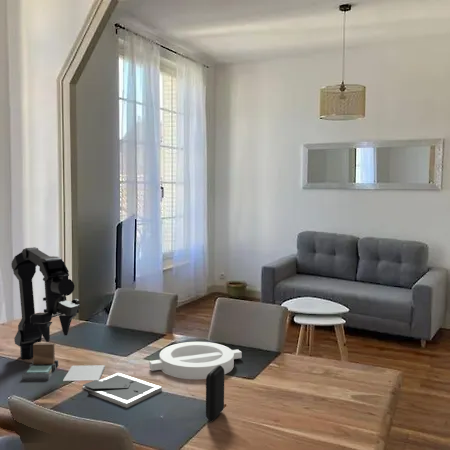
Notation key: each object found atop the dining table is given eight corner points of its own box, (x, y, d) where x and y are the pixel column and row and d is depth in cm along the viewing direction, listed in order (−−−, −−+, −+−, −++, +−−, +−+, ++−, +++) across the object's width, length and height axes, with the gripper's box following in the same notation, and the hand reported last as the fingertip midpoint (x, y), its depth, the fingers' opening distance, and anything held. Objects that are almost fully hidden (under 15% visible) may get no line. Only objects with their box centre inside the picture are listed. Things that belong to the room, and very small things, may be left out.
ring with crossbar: (145, 372, 187) (145, 360, 187) (180, 349, 213) (180, 338, 213) (216, 385, 177) (216, 372, 176) (244, 359, 203) (244, 347, 202)
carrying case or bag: (217, 407, 159) (218, 361, 158) (226, 409, 158) (227, 362, 156) (204, 422, 149) (204, 373, 148) (213, 424, 148) (214, 375, 147)
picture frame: (82, 393, 170) (126, 410, 158) (82, 384, 170) (126, 401, 158) (118, 378, 183) (161, 392, 171) (118, 370, 182) (161, 384, 170)
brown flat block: (35, 366, 188) (34, 342, 187) (54, 366, 188) (54, 342, 187) (33, 369, 186) (33, 344, 185) (53, 368, 186) (52, 344, 185)
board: (72, 368, 190) (71, 365, 189) (105, 367, 190) (104, 365, 190) (62, 383, 176) (62, 380, 176) (98, 382, 177) (98, 380, 176)
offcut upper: (31, 368, 184) (31, 365, 183) (51, 368, 184) (51, 365, 184) (26, 375, 178) (26, 372, 177) (47, 374, 178) (47, 371, 178)
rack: (33, 367, 190) (33, 359, 189) (58, 367, 190) (58, 359, 190) (21, 383, 175) (21, 375, 175) (48, 383, 176) (48, 374, 176)
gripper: (54, 298, 167) (57, 346, 167) (89, 289, 184) (92, 332, 185) (27, 298, 171) (30, 344, 171) (64, 289, 189) (67, 332, 189)
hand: (57, 338), depth 179 cm, fingers open, 9 cm apart
